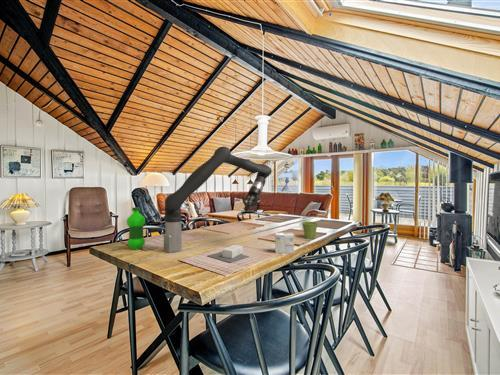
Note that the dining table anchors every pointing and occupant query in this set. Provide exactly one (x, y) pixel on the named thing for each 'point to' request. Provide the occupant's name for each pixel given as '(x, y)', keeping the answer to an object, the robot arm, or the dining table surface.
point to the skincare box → (232, 251)
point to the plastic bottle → (136, 229)
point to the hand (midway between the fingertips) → (245, 210)
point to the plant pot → (309, 229)
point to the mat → (230, 260)
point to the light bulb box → (284, 243)
